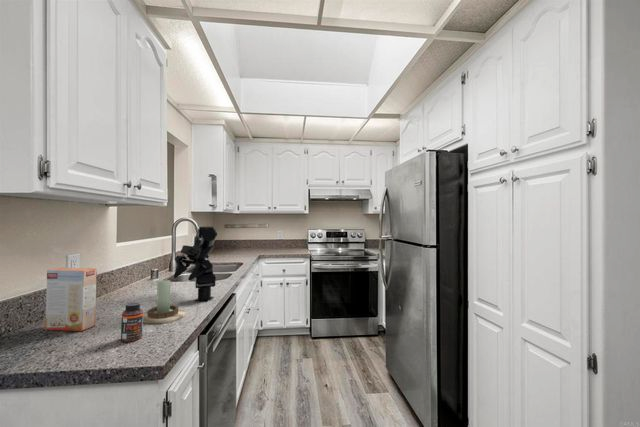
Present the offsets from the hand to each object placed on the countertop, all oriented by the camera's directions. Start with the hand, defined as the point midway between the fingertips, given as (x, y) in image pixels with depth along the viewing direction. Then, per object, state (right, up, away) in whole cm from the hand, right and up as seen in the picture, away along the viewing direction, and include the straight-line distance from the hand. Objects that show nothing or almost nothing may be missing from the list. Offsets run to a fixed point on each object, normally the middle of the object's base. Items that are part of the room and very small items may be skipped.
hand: (181, 278), depth 124 cm
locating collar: (-4, -13, -8) cm, 16 cm away
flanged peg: (-4, -12, -7) cm, 15 cm away
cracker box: (-30, -13, -20) cm, 38 cm away
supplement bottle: (-3, -13, -29) cm, 32 cm away
